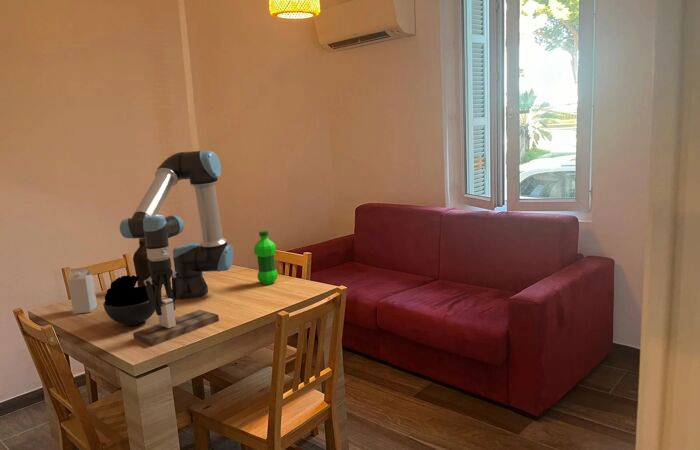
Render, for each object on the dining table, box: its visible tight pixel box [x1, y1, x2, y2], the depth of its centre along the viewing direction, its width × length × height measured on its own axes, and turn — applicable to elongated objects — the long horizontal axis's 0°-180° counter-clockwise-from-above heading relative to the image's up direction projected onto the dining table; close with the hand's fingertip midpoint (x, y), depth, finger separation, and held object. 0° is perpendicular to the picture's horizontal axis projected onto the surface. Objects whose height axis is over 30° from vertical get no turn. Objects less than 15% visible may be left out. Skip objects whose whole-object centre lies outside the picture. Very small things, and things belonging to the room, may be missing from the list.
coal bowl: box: [103, 274, 156, 326], centre depth 200 cm, size 20×20×19 cm
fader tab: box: [157, 296, 176, 328], centre depth 187 cm, size 3×6×10 cm, turn 51°
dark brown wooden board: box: [132, 309, 220, 347], centre depth 191 cm, size 28×12×3 cm, turn 141°
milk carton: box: [67, 266, 98, 315], centre depth 220 cm, size 7×7×19 cm
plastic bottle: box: [253, 230, 279, 285], centre depth 245 cm, size 10×10×25 cm
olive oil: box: [132, 238, 154, 287], centre depth 248 cm, size 11×11×25 cm
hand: (167, 321), depth 188 cm, fingers closed on fader tab, 3 cm apart
